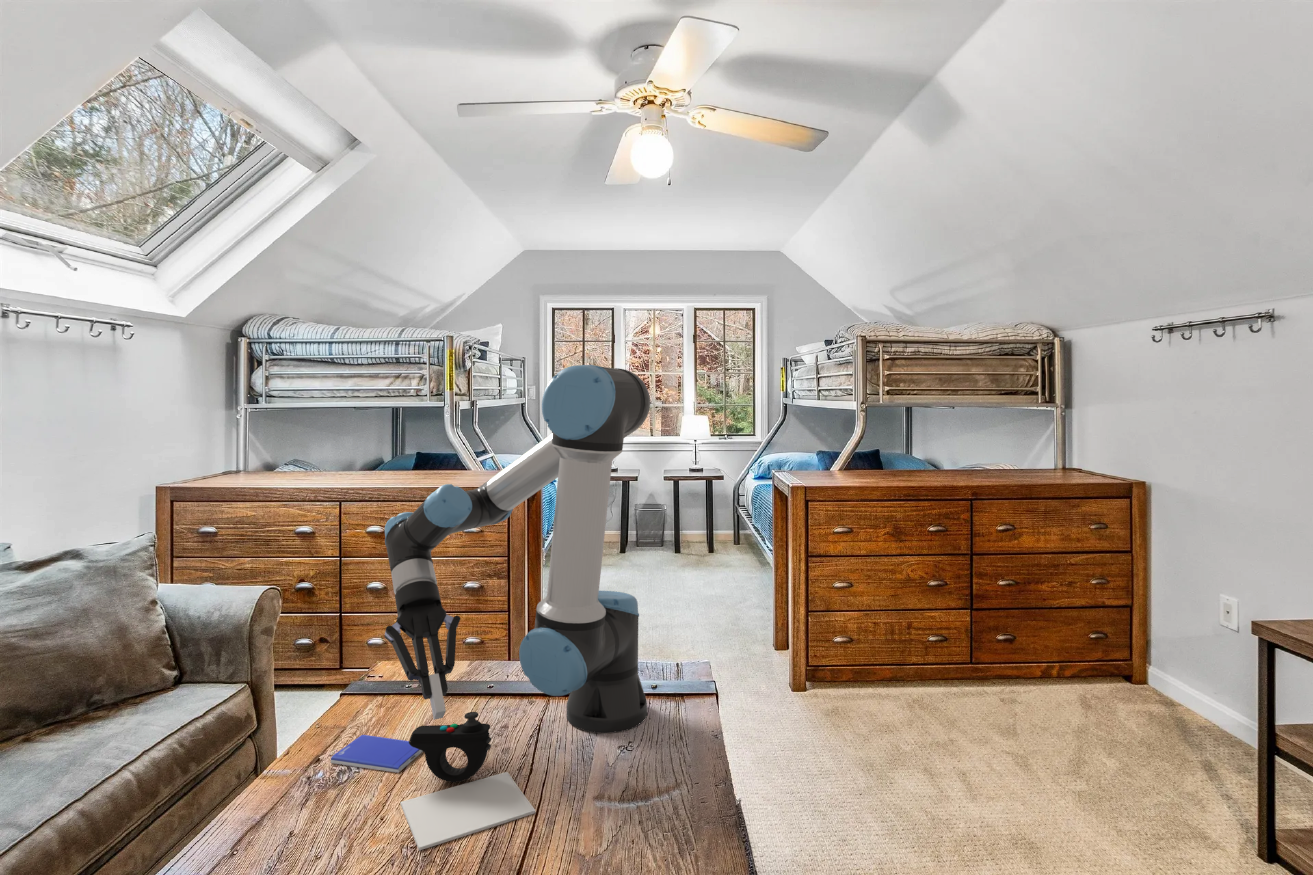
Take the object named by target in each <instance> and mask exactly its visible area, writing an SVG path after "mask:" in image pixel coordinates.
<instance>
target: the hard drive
mask: <svg viewBox="0 0 1313 875" xmlns="http://www.w3.org/2000/svg"><path fill="white" fill-rule="evenodd" d="M409 741H410V740H404V739H403V740H402V739H398V738H397V739H395V738H388V737H382V736H375V735H367V734H362V735H360V736H358V737H357V738H355V739H354V740H352V741H351V742H350V743H348V744H346V746H344V747H342V748H341V749H339V751H337V752H336V753H334V754H333V755H332V756H331V757H330V764H335V765H336V764H337V765H341V764H342V765H343V766H349V767H355V768H363V769H370V770H376V771H377V770H378V771H385V772H391V773H400V772H402V770H403V769H404V768H406V767H407V766H408V765H409V764H411V762H413V761H414V760H416V758H417V757H418V756H419V755H421V754H422V753H424V752H423V751H422V750H420V749H417V748H415V747H412V746H411V745H410V744H409ZM342 765H341V766H342Z"/></svg>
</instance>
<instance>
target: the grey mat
mask: <svg viewBox="0 0 1313 875" xmlns="http://www.w3.org/2000/svg"><path fill="white" fill-rule="evenodd" d="M399 805H400V807H401V809H402V812H403V815H404V817H405V820H406V822H407V824H408V827H409V829H410V832H411V834H412V836H413V840H414V842H415V844H416V847H417V849H418V851H422V850H424V849H425V850H426V849H428V848H432V847H435V846H438V845H441V844H444V843H447V842H450V841H453V840H456V839H459V838H463V837H466V836H468V835H472V834H475V833H478V832H481V831H485V830H488V829H491V828H494V827H497V826H499V825H503V824H506V823H509V822H512V821H515V820H519V819H521V818H524V817H527V816H531V815H533V814H534V815H535V814H536V809H535V808H534V806H533V805H532V804H531V802H530V801H529V799H528V798H527V797H526V795H525V794H524V793H523V791H522V789H520V787H519V786H518V783H516V782H515V780H514V779H513V778H512V776H511V775H510V773H509V772H508V771H505V772H501V773H498V774H494V775H491V776H488V777H485V778H481V779H476V780H473V781H470V782H466V783H462V784H460V785H456V786H452V787H449V788H445V789H441V790H438V791H434V792H431V793H427V794H424V795H423V794H422V795H419V796H416V797H412V798H410V799H405V800H403V801H400V804H399Z"/></svg>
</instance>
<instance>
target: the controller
mask: <svg viewBox="0 0 1313 875" xmlns="http://www.w3.org/2000/svg"><path fill="white" fill-rule="evenodd" d="M478 717H479V713H478V712H477V711H471V712H470V711H469V712H467V713H465V714H464V719H466V721H465V722H464V723H461V724H457V723H452V724H440V725H439V724H436V725H429V724H428V725H420V726H418V727H416V728H415V729H414V730H413V731H412V732H411V735H410V737H409V740H408V741H409V744H410V745H411V746H412V747H415V748H417V749H420V750H422V751H423V752H422V753H423V754H424V757H425V761H426V765H427V767H428V769H429V771H431V773H432V774H433V775H434V776H436V777H437V778H438V779H440V780H442V781H445V782H446V783H447V782H448V783H461V782H465V781H468V780H469V779H470V778H472V777H474V776H475V775H476V774H477V773H478V772H479V770H480V769H481V767H482V766H483V765H484V763H485V762H486V761H485V760H486V758H487V756H488V751H489V750H491V748H492V744H491V743H490V742H491V741H492V737H490V733H489V730H490V729H491V725H490V724H489V723H482V722H481V721H479V720H477V719H476V718H478ZM450 748H451V749H452V748H456V749H459V750H461V751H462V752H463V753H464V754H465V756H466V759H467V765H466V766H465V767H463V768H457V767H454V766H453V765H451V764H450V762H449V760H448V759H447V750H448V749H450Z"/></svg>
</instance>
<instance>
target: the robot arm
mask: <svg viewBox="0 0 1313 875" xmlns="http://www.w3.org/2000/svg"><path fill="white" fill-rule="evenodd" d="M542 395H543V396H542V400H541V412H542V413H541V414H542V417H543V420H544V422H546V424H547V427H548V429H549V430H550V432H551V433H550V434H548V435H547V436H546V437H545V438H543V439H542V440H541V441H540V442H538V443H536V444H535V445H533V446H532V447H531V448H530V449H528V450H527V451H526V452H525V453H523V454H522V455H521V456H519V457H517V458H516V459H515V460H513V461H512V462H511V463H510V464H508V465H506V466H505V467H504V468H503V469H502V470H500V471H499V472H497V473H496V474H495V475H493V476H492V477H490V479H488V480H487V481H486V482H484V483H483V484H481V485H480V486H479V487H477V488H475V489H470V490H464V489H463V488H461V487H460V486H457V485H456V486H455V485H453V484H452V483H446V484H443V485H440V486H439V487H438V488H437V489H436V490H435V491H433V492H431V493H430V494H429V495H428V496H427V498H426V499H425V500H424V501H423V502H422V503H421V504H420V505H419V506H418V507H417V508H416V509H415V511H413V512H411V511H409V512H408V511H406V512H402V513H401V512H400V513H398V514H397V515H396V516H391V517H390V518H389V519H388V520H387V522H386V524H385V526H384V536H385V538H384V544H385V547H386V553H387V558H388V563H389V570H390V573H391V574H390V575H391V581H392V588H393V593H394V599H395V600H394V601H395V607H396V611H397V612H396V613H397V617H396V621H395V623H393V624H392V625H387V626H386V628H385V631H384V638H385V639H386V640H387V642H389V643H390V644H391V645H392V647H393V650H394V652H395V654H396V656H397V658H398V660H399V663H400V665H401V667H402V670H403V671H404V673H405V676H406V678H407V680H408V681H411V682H412V681H417V682H418V683H419V684H420V687H421V693H422V698H423V699H424V700H429V701H430V707H431V712H432V719H433V721H434V720H439V719H443V718H444V716H445V714H446V712H447V709H446V705H445V699H444V696H446V695H447V692H448V690H449V687H448V683H447V676H446V675H447V674H448V675H449V674H452V672H453V670H454V667H455V665H456V663H455V662H456V645H457V644H456V642H457V629H458V627H459V624H460V622H461V617H460V615H454V616H451V615H449V614H447V612H446V609H444V607H443V605H442V600H441V595H440V591H439V590H440V589H439V586H438V581H437V576H436V571H435V568H434V562H433V557H432V551H433V550H434V549H435V548H437V547H438V545H440V543H442V542H443V541H444V539H446V538H447V537H448V536H450V535H452V534H456V533H460V532H461V533H462V532H464V531H469V530H472V529H476V528H481V527H486V526H493V525H497V524H499V523H500V522H504V521H506V520H507V519H508V518H510V516H511V515H512V512H513V511H514V508H516V507H518V506H519V505H520V504H522V503H524V502H525V501H526V500H527V499H529V498H531V497H532V496H533V495H535V494H536V493H537V492H539V491H541V490H542V489H543V488H544V487H546V486H548V485H549V484H551V483H552V482H553V481H555V480H556V479H557V484H556V496H555V503H554V504H555V507H554V515H553V516H554V517H553V526H552V527H553V529H552V536H551V537H552V539H551V540H552V541H551V546H550V547H551V550H550V561H549V570H548V581H547V591H546V593H547V594H546V596H545V597H544V598H543V599H541V601H539V602H538V603H537V605H536V608H535V609H536V611H535V620H534V628H533V629H530V631H528V633H526V634H525V636H524V637H523V638H522V640H521V642H520V645H519V649H518V650H519V652H518V653H519V654H518V656H519V663H520V668H521V669H522V672H523V674H524V675H525V677H527V679H528V680H529V683H530V684H531V685H532V686H533V687H534V688H536V689H537V691H540V692H541V693H543V694H545V695H548V696H553V697H561V696H566V695H569V696H568V699H567V701H566V719H567V722H568V723H569V724H571V726H573V727H575V728H577V729H579V730H582V731H586V732H588V733H589V732H590V733H596V734H597V733H598V734H599V733H600V734H602V733H603V734H604V733H605V734H607V733H608V734H609V733H610V734H611V733H619V732H623V731H627V729H628V730H630V729H631V730H632V729H633V728H632V727H634V728H635V726H636V725H638V724H639V723H641V722H642V721H643V720H644V719H645V718H646V719H647V717H646V716H648V700H647V697H646V694H645V691H644V688H643V685H642V681H641V679H640V678H641V677H640V676H639V617H640V613H639V605H638V604H639V602H638V599H637V598H636V597H635V596H634V595H632V594H629V593H626V592H621V591H615V590H613V591H612V590H600V582H601V573H602V564H603V563H602V562H603V554H604V546H605V545H604V544H605V535H606V524H607V514H608V505H609V495H610V484H611V475H612V466H613V461H614V460H615V459H616V458H617V457H618V456H619V455H620V454H622V453H623V446H624V438H626V437H628V436H629V435H631V434H633V433H634V432H636V431H637V430H638V429H639V428H641V426H643V425H644V423H645V421H646V420H647V418H648V417H649V416H648V415H649V413H650V409H651V397H650V392H649V390H648V387H647V385H646V384H645V383H644V381H643V379H642V378H640V377H639V375H637V374H635V373H634V372H632V371H630V370H627V369H624V368H617V367H616V368H614V367H606V366H600V365H594V364H581V365H580V364H577V365H571V366H568V367H566V368H565V367H564V368H563V369H562V370H560V371H559V372H557V373H556V374H555V375H554V376H552V378H551V379H550V380H549V382H548V384H547V385H546V386H545V389H544V392H543V394H542ZM444 623H445V628H446V630H447V634H446V644H445V645H446V647H445V648H446V649H445V664H444V659H443V653H442V649H441V644H440V639H439V631H440V629H441V627H442V626H443V625H444ZM401 632H402V633H404V634H405V635H406V636H408V637H409V638H410V639H411V644H412V647H413V651H414V656H415V662H416V665H415V662H414V660H413V657H412V656H411V654H410V652H409V649H408V646H407V645H406V643H405V641H404V639H403V637H402V634H401ZM425 638H426V640H427V644H428V646H429V652H430V656H431V662H432V668H433V674H430V671H429V665H428V660H427V659H428V658H427V653H426V649H425V643H424V639H425ZM646 719H645V720H646ZM645 720H644V721H645ZM644 721H643V722H644ZM643 722H642V723H643ZM642 723H641V724H642ZM639 725H640V724H639ZM639 725H638V726H639ZM636 727H637V726H636Z"/></svg>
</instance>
